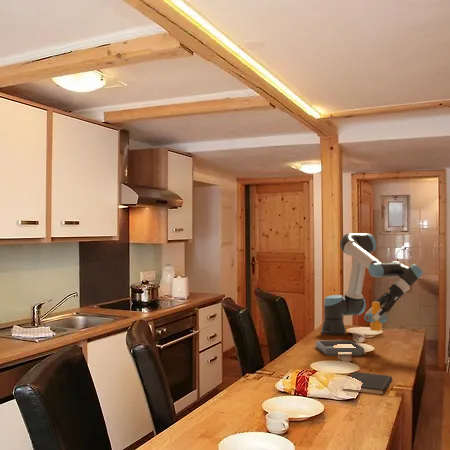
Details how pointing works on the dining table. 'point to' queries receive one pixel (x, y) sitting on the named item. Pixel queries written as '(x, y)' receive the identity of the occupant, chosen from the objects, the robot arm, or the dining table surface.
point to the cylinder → (374, 324)
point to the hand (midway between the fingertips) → (370, 317)
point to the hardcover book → (373, 382)
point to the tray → (328, 348)
